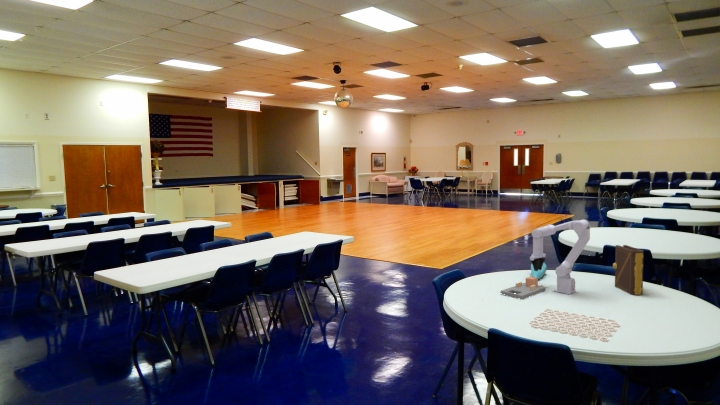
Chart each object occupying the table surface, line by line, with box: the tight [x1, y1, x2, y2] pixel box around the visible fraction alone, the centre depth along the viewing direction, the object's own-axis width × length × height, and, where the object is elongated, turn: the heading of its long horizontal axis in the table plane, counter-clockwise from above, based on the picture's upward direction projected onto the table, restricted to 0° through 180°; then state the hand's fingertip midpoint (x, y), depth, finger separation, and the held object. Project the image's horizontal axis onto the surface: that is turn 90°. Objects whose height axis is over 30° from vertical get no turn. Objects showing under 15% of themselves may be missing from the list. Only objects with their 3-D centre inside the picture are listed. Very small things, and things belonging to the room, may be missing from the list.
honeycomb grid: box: [528, 308, 621, 343], centre depth 219 cm, size 30×35×1 cm
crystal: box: [530, 262, 547, 280], centre depth 306 cm, size 10×34×10 cm, turn 154°
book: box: [612, 244, 645, 296], centre depth 270 cm, size 22×8×25 cm, turn 179°
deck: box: [500, 281, 547, 300], centre depth 272 cm, size 14×25×4 cm, turn 129°
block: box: [525, 276, 539, 287], centre depth 278 cm, size 5×5×5 cm
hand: (537, 270), depth 282 cm, fingers open, 3 cm apart
